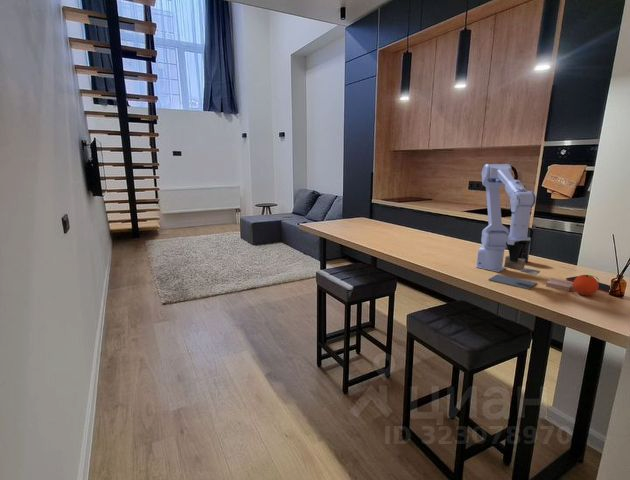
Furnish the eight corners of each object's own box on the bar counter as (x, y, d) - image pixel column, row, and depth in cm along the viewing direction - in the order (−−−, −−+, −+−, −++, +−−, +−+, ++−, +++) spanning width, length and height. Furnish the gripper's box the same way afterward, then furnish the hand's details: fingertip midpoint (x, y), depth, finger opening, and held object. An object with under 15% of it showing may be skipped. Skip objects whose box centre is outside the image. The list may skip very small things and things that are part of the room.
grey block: (503, 267, 132) (504, 257, 131) (507, 265, 135) (509, 255, 134) (535, 275, 124) (537, 264, 123) (539, 272, 127) (541, 261, 126)
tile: (546, 282, 128) (569, 287, 123) (551, 278, 132) (574, 282, 127) (545, 287, 128) (568, 292, 123) (550, 283, 133) (573, 287, 128)
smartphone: (608, 291, 122) (564, 278, 135) (607, 294, 122) (564, 280, 135) (621, 288, 124) (577, 275, 138) (621, 291, 124) (577, 278, 138)
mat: (488, 280, 135) (488, 279, 135) (497, 275, 141) (497, 274, 141) (528, 289, 125) (529, 288, 125) (536, 283, 131) (537, 282, 130)
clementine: (588, 290, 124) (592, 271, 122) (605, 298, 117) (609, 277, 115) (566, 291, 123) (569, 271, 122) (581, 298, 117) (585, 278, 115)
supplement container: (524, 259, 163) (527, 237, 160) (530, 263, 156) (533, 241, 154) (508, 259, 164) (511, 237, 161) (514, 263, 157) (517, 240, 155)
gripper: (524, 228, 120) (520, 266, 123) (538, 223, 130) (533, 259, 133) (503, 226, 125) (498, 262, 128) (517, 221, 135) (513, 255, 138)
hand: (515, 260), depth 131 cm, fingers closed on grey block, 3 cm apart
